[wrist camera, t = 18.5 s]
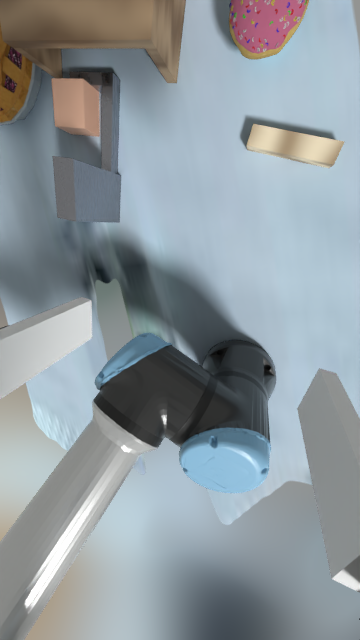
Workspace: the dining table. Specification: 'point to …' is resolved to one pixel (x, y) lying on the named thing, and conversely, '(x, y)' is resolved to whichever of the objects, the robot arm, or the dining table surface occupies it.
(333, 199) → the dining table surface
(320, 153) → the plain stick
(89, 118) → the block
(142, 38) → the shelf
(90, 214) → the hook tool
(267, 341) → the dining table surface
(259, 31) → the cupcake
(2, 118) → the pie
